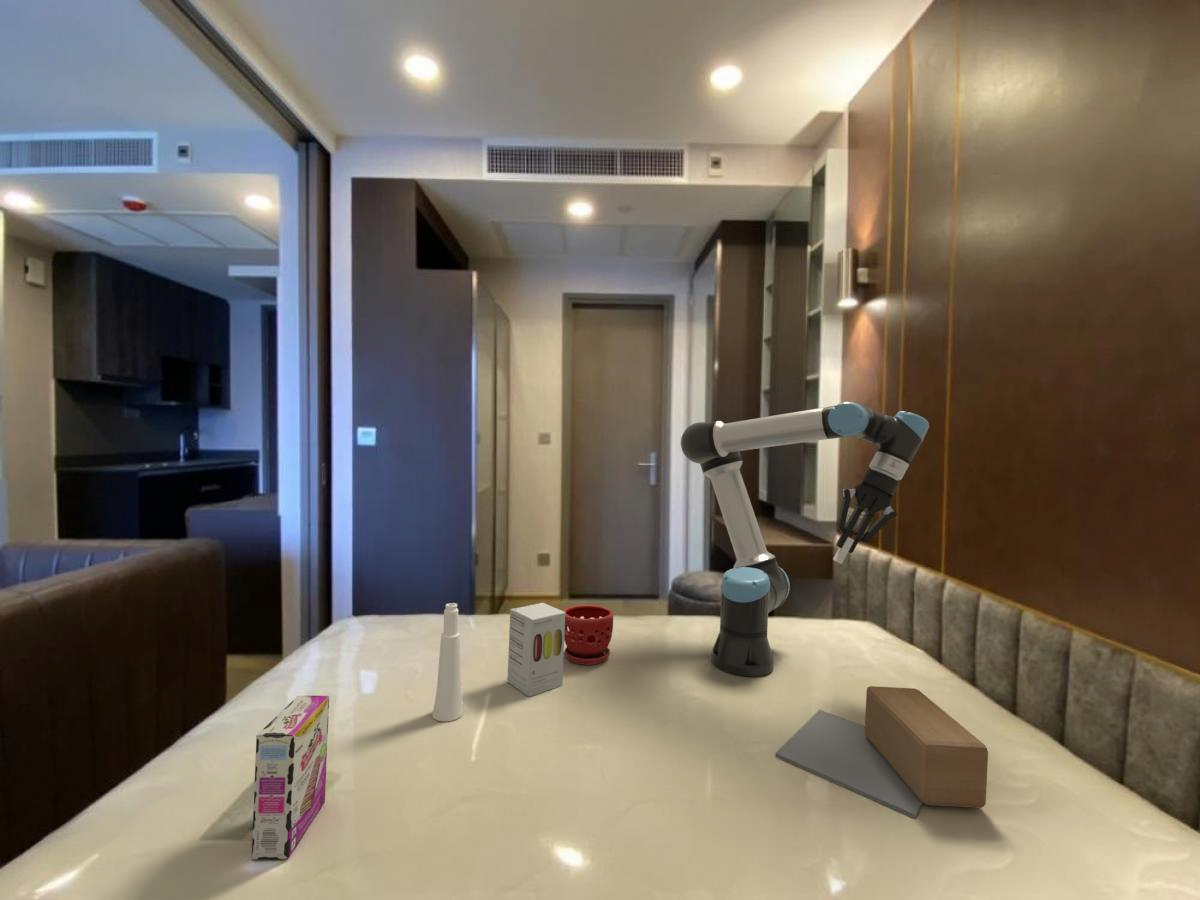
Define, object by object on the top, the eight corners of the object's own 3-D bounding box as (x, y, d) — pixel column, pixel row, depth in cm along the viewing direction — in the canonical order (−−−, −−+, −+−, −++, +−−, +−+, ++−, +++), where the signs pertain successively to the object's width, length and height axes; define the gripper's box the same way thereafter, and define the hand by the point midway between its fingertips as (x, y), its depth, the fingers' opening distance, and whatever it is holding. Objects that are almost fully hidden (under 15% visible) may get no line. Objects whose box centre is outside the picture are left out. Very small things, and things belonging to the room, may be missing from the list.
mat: (775, 756, 94) (775, 753, 94) (819, 712, 111) (819, 709, 111) (915, 818, 80) (915, 814, 80) (942, 757, 96) (942, 753, 96)
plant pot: (621, 655, 137) (622, 609, 136) (593, 673, 126) (595, 623, 125) (579, 643, 144) (581, 600, 143) (550, 659, 133) (551, 612, 132)
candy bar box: (290, 861, 68) (293, 735, 67) (249, 862, 67) (252, 736, 67) (328, 801, 79) (330, 693, 79) (293, 802, 78) (295, 693, 78)
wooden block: (915, 738, 101) (988, 811, 81) (862, 735, 101) (922, 807, 81) (917, 686, 101) (991, 747, 81) (864, 683, 101) (925, 743, 81)
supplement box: (528, 698, 113) (530, 619, 112) (505, 682, 119) (508, 608, 119) (564, 685, 119) (566, 611, 119) (540, 671, 126) (542, 601, 126)
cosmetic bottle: (469, 714, 105) (473, 605, 105) (442, 725, 101) (445, 611, 100) (453, 703, 109) (456, 598, 109) (426, 713, 105) (429, 604, 104)
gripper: (861, 462, 123) (814, 551, 124) (917, 487, 120) (868, 578, 122) (853, 462, 130) (808, 546, 132) (905, 486, 128) (859, 572, 129)
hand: (837, 561), depth 127 cm, fingers closed
